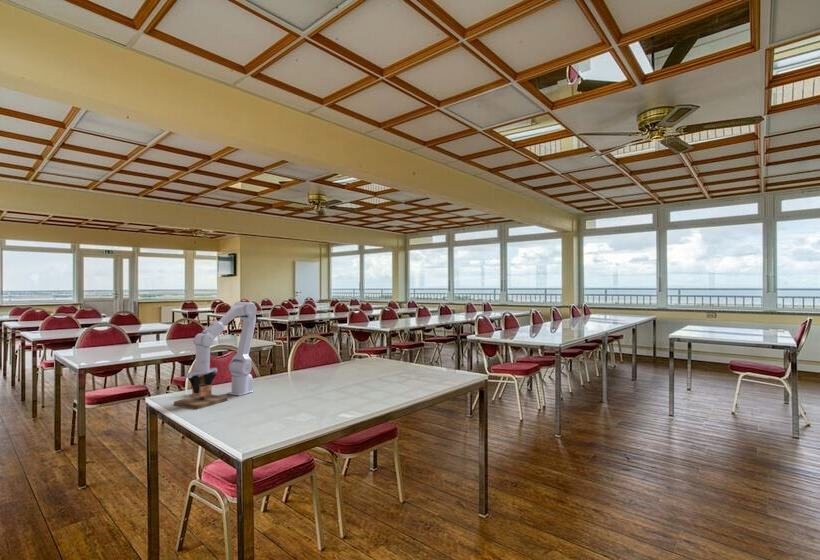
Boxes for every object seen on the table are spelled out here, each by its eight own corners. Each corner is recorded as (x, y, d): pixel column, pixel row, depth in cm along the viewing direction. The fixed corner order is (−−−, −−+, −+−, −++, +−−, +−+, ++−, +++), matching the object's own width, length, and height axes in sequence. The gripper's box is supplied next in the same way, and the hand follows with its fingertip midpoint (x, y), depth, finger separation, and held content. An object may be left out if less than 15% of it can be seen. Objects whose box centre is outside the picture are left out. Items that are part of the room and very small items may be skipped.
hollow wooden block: (202, 392, 191) (202, 383, 191) (211, 394, 188) (211, 385, 189) (192, 395, 186) (192, 386, 186) (201, 396, 184) (201, 387, 184)
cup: (194, 395, 198) (194, 378, 198) (197, 392, 205) (198, 375, 205) (211, 395, 200) (212, 378, 200) (214, 391, 207) (214, 374, 207)
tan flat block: (205, 396, 197) (205, 383, 197) (227, 400, 192) (228, 387, 192) (173, 404, 182) (174, 390, 183) (197, 409, 177) (197, 394, 177)
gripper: (195, 363, 179) (194, 396, 179) (222, 359, 192) (221, 389, 192) (183, 362, 182) (182, 394, 182) (211, 357, 195) (210, 387, 195)
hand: (201, 391), depth 187 cm, fingers closed on hollow wooden block, 5 cm apart
